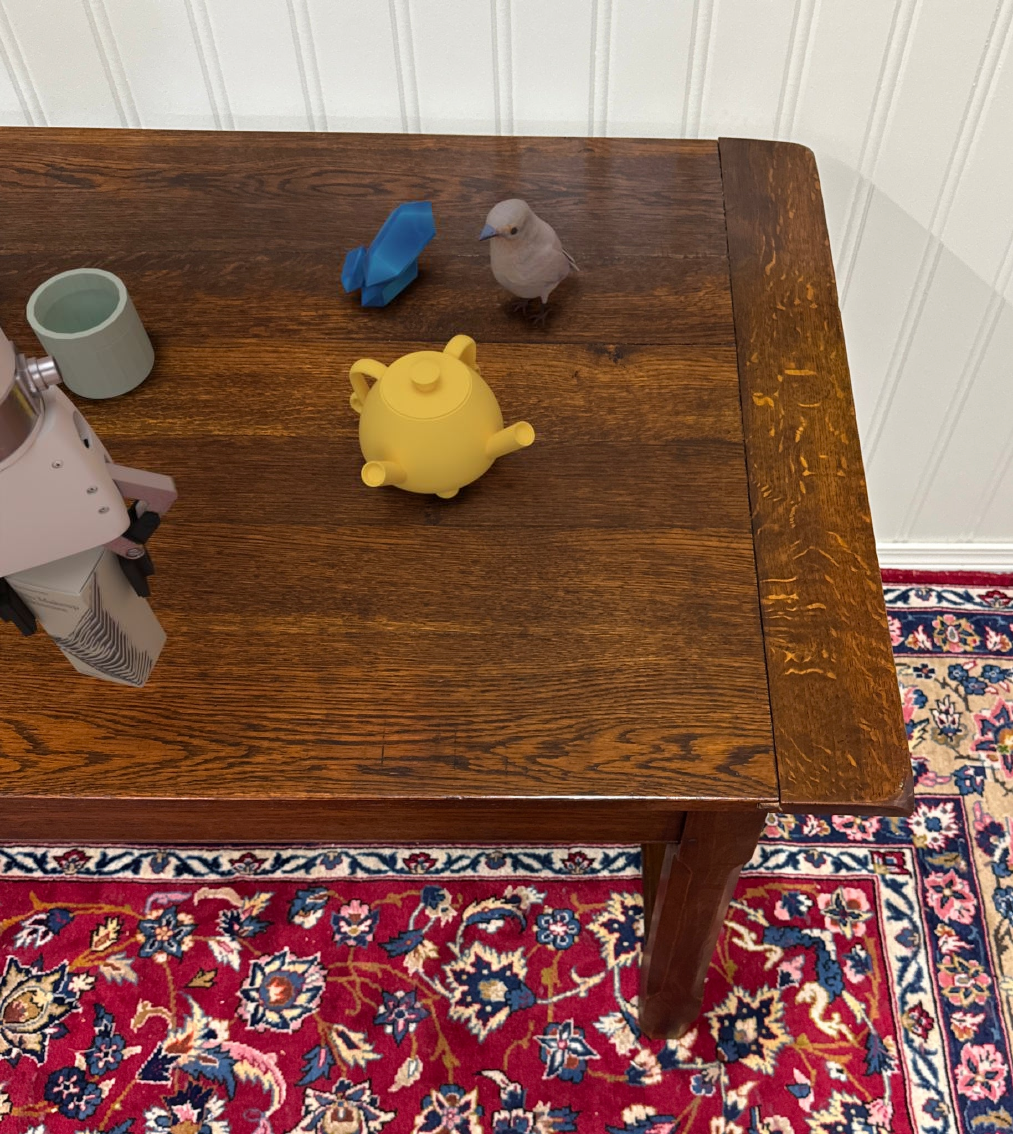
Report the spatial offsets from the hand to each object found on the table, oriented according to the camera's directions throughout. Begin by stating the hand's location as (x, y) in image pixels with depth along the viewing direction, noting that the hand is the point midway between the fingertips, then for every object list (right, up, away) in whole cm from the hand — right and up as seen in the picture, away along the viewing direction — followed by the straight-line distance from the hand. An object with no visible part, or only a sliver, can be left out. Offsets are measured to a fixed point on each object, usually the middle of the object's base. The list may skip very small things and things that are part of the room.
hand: (84, 596), depth 62 cm
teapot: (+20, +11, +27) cm, 36 cm away
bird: (+29, +27, +37) cm, 54 cm away
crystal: (+15, +30, +39) cm, 52 cm away
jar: (-12, +21, +34) cm, 42 cm away
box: (0, -4, +7) cm, 8 cm away
